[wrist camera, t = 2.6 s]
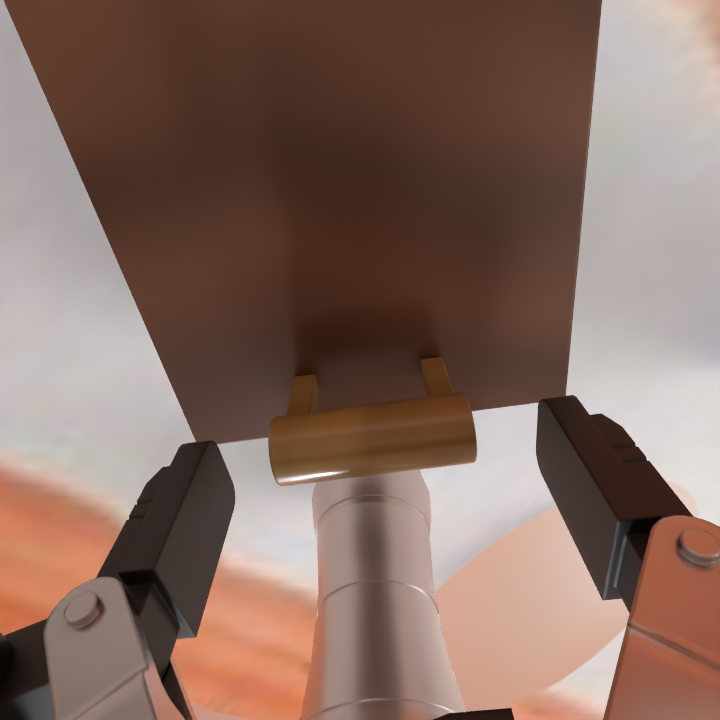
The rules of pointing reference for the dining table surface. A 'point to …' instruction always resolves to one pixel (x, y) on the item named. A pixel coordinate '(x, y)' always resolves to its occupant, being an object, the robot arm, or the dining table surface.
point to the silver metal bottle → (377, 605)
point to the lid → (335, 207)
